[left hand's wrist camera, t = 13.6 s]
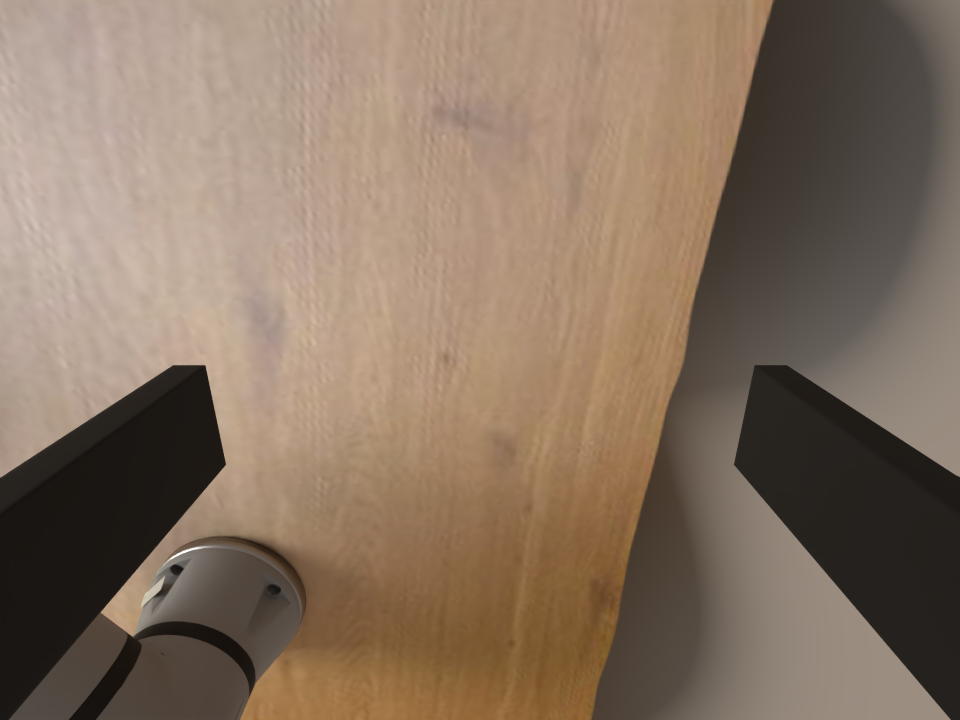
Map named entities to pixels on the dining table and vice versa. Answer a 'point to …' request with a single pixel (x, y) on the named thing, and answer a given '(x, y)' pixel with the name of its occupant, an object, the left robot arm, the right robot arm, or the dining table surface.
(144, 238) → the dining table surface
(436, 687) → the dining table surface
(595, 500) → the dining table surface
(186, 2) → the dining table surface
